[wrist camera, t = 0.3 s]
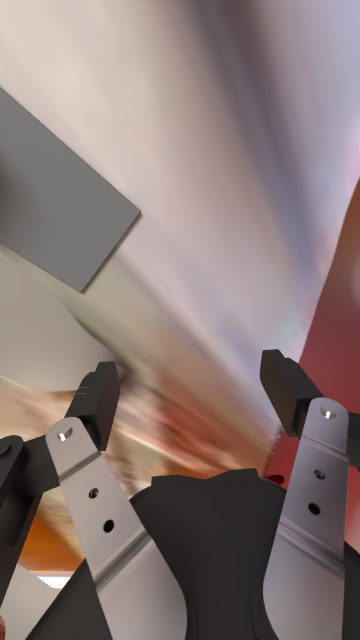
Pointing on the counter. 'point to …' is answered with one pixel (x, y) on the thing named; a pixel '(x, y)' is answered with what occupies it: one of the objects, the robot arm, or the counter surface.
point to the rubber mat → (55, 200)
